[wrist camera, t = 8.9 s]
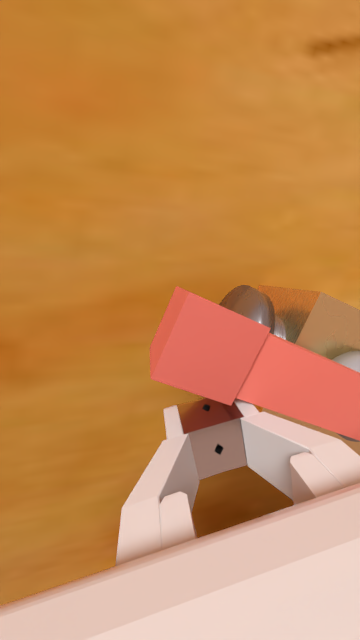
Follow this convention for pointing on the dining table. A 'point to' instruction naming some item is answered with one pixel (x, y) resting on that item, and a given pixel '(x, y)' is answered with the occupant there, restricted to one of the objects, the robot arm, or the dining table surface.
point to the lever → (253, 366)
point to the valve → (301, 326)
